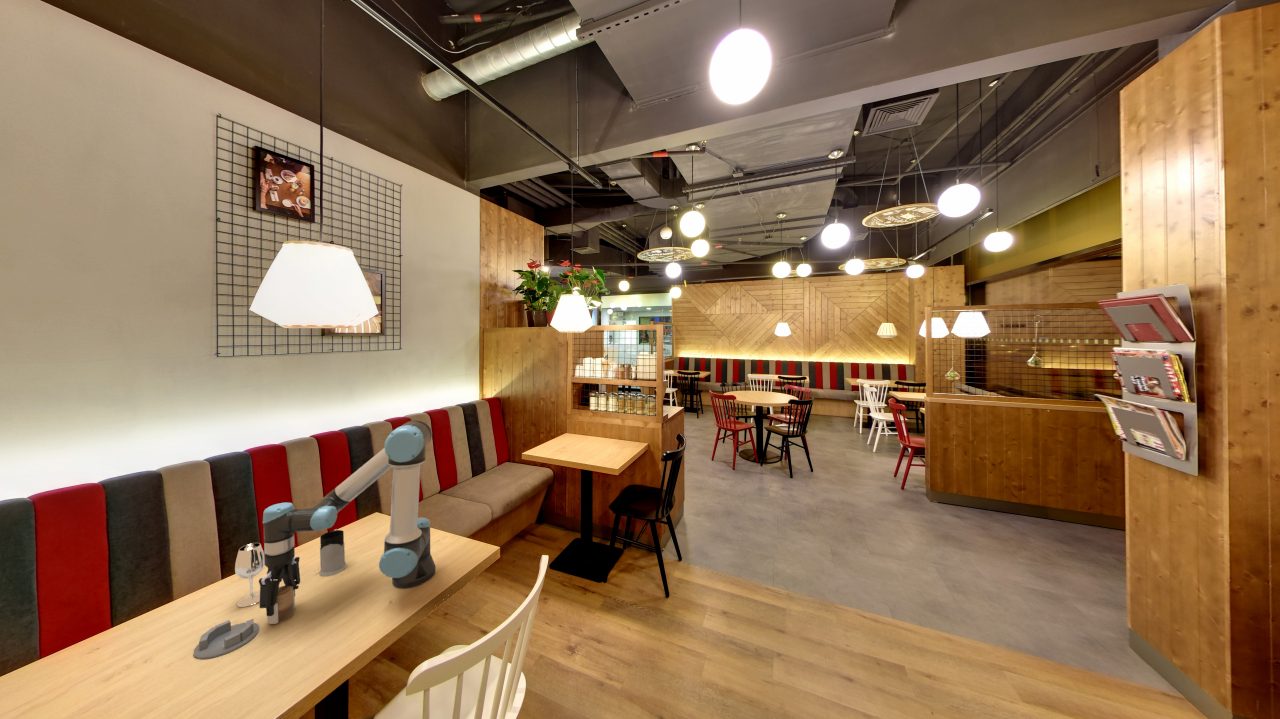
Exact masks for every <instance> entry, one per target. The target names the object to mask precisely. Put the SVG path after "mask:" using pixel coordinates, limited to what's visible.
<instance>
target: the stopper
mask: <svg viewBox="0 0 1280 719" xmlns="http://www.w3.org/2000/svg"><path fill="white" fill-rule="evenodd" d="M276 603H278V623H277V624H279V623H282V622H285V621H288V620H289V619H290V618H292V617H293V616H294V614H295V608H294V599H293V587H292V586H285V585H282V586H279V588H278V593H277V598H276Z"/></svg>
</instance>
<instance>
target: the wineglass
mask: <svg viewBox="0 0 1280 719" xmlns="http://www.w3.org/2000/svg"><path fill="white" fill-rule="evenodd" d="M264 555H265V553H264V550H263V547H262V544H261V543H260V542H252V543H249V544H246V545H245V544H244V545H243V546H241V547H240V548H239V549H238V552H237V556H236V559H235V563H234V564H235V566H234V572H235V575H236V576H237V577H239V578H240V579H243V580H246V579H247V580H248V581H249V595H247V596H245V597H243V598H241V599H239V601H238V602H236V606H237V608H245V607H249V606H253V605H255V604H258V603H260V592H257V593H254V590H253V589H254V588H253V587H254V586H253V584H254V583H253V581H254V577H257V576H258V575H260V573H261V572H262V571H263V570H264V568H265V567H266V566H265V563H264Z"/></svg>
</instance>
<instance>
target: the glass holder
mask: <svg viewBox="0 0 1280 719" xmlns="http://www.w3.org/2000/svg"><path fill="white" fill-rule="evenodd" d="M344 536H345V535H344V531H343V530H342V529H337V528H336V529H334V530H330V531H328V532H325V533H323V534H322V535H320V541H319V542H320V546H319V552H320V553H319V556H320V557H319V558H320V571H319V576H321V577H330V575H331V576H335V575H337V574H339V573H341V572H343V571H345V569H346V568H347V564H346V563H345V562H346V559H345V558H346V557H345V556H346V555H345V553H346V551H345V549H346V548H345V539H344Z"/></svg>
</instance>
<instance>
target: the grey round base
mask: <svg viewBox="0 0 1280 719" xmlns="http://www.w3.org/2000/svg"><path fill="white" fill-rule="evenodd" d="M231 624H232V623H231V620H230V619H229V620H225V621H223V622H221V623H219V624H216V625H214V626H213V627H211V628H209V629H208V630H207V631H206V632H204V633H203V634H202V635H201V636H200V638H199V642H198V644H197V645H195V648H194V649H193V657H194V658H195V659H198V660H210V659H213V658H218V657H221V656H224V655H227V654H230V653H231V652H234V651H236V650H239V649H240V648H242V647H244V646H245V645H247V644H248V643H249V642H251V641H252V640H253V639H254V638H255V637H256V636H257V634H259V631H260V625H259V624H258V623H257V622H254V618H251V619H248V620H246V622H241V623H236V624H233V625H231Z"/></svg>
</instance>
